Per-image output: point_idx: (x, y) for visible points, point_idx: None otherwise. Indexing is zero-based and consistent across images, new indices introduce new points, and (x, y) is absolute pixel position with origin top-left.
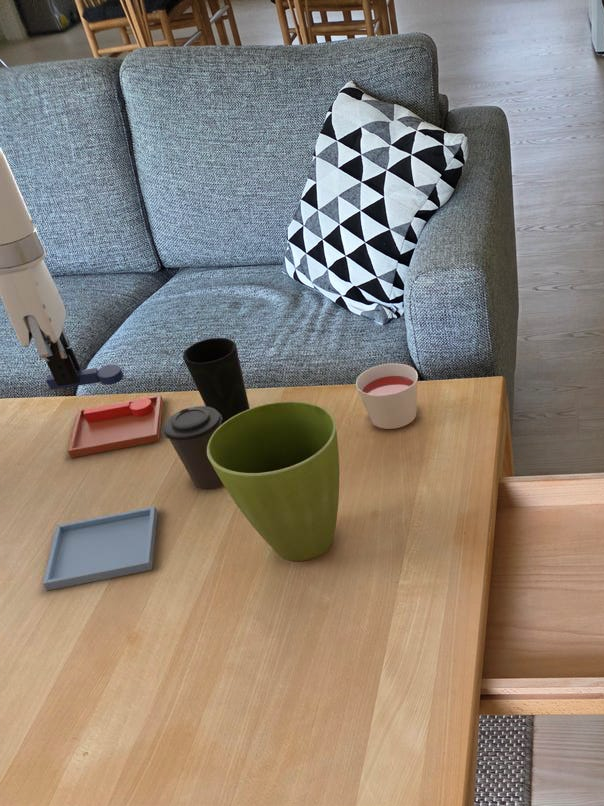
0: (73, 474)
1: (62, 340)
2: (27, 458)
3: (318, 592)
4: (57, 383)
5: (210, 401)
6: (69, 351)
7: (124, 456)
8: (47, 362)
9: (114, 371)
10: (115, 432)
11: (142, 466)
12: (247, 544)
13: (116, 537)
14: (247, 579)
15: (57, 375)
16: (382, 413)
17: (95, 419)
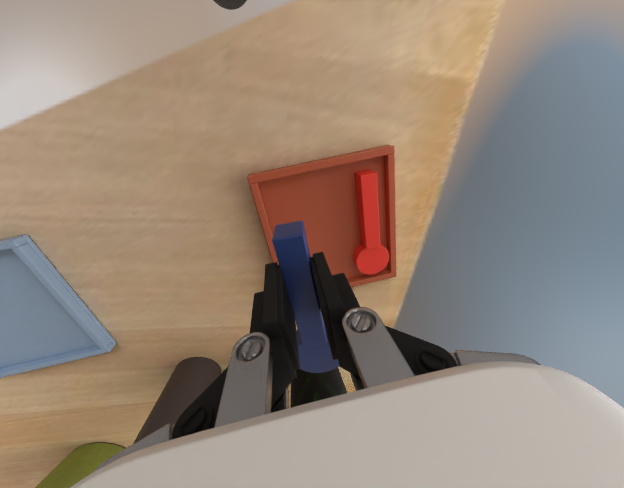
0: (197, 197)
1: (357, 385)
2: (251, 70)
3: (36, 476)
4: (266, 268)
5: (292, 402)
6: (333, 358)
7: (249, 262)
8: (263, 319)
9: (314, 366)
10: (313, 232)
11: (223, 293)
12: (85, 425)
13: (38, 321)
14: (30, 438)
15: (253, 305)
16: None
17: (356, 189)
